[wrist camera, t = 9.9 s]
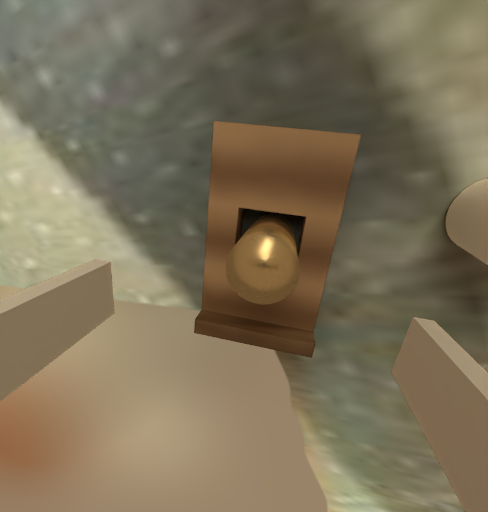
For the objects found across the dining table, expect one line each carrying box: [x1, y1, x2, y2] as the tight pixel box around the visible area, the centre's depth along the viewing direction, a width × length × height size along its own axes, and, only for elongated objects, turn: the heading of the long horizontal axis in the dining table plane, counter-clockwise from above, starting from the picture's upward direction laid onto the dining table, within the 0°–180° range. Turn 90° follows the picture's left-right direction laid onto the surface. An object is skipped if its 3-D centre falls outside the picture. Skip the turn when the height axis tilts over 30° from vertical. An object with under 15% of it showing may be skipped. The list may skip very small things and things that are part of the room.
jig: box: [194, 121, 361, 358], centre depth 23 cm, size 20×12×5 cm, turn 173°
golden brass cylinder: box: [226, 215, 300, 304], centre depth 21 cm, size 5×5×10 cm
